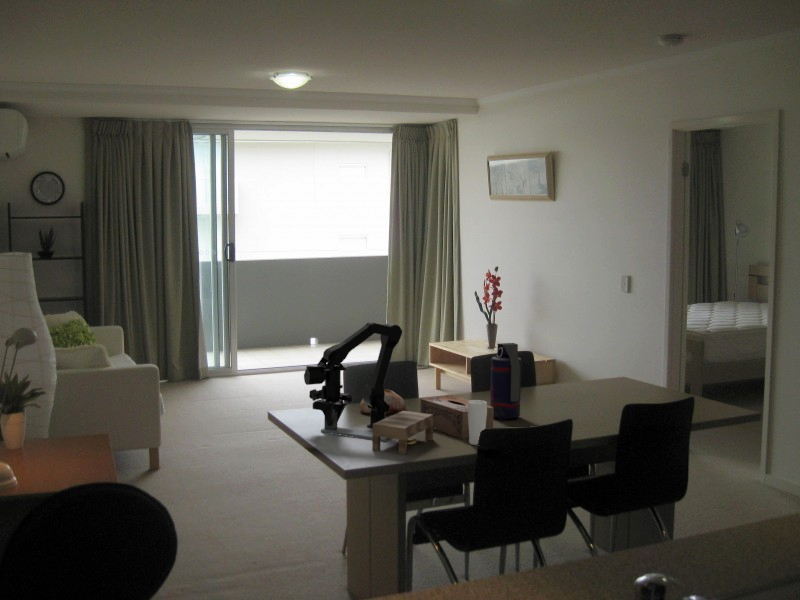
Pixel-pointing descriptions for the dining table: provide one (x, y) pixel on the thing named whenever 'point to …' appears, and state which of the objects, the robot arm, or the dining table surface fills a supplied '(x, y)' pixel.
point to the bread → (391, 399)
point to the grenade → (506, 382)
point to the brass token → (411, 441)
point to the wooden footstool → (402, 428)
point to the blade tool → (348, 430)
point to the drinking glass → (476, 419)
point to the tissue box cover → (452, 414)
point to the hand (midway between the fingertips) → (332, 424)
